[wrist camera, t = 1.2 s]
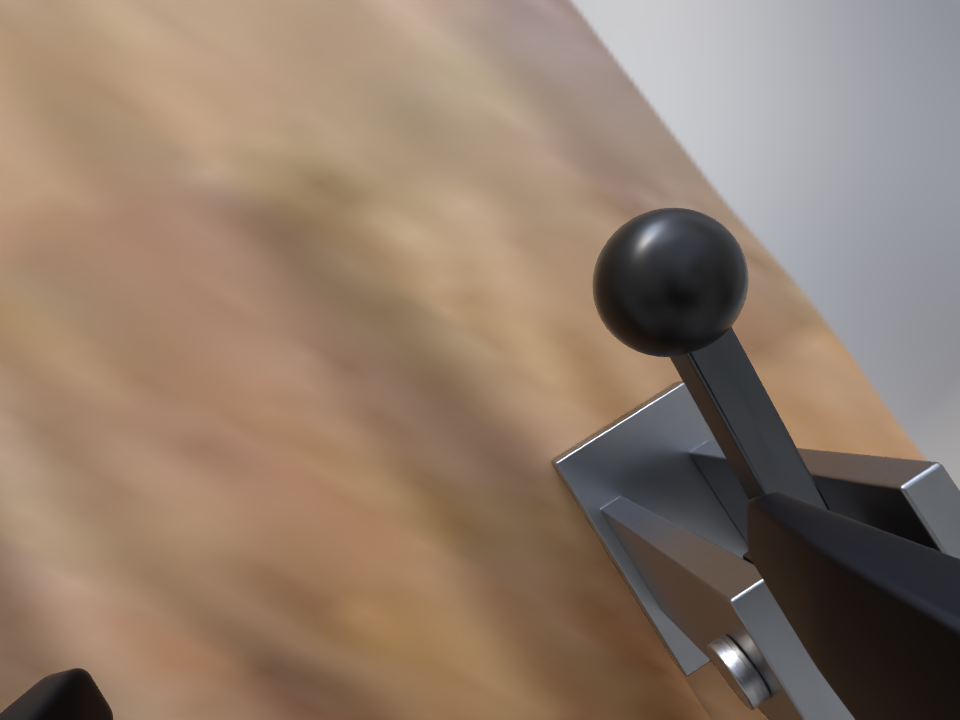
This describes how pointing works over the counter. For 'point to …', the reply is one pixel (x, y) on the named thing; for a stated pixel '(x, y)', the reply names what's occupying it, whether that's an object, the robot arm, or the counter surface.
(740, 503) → the bracket
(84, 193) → the counter surface
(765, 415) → the ball knob lever
